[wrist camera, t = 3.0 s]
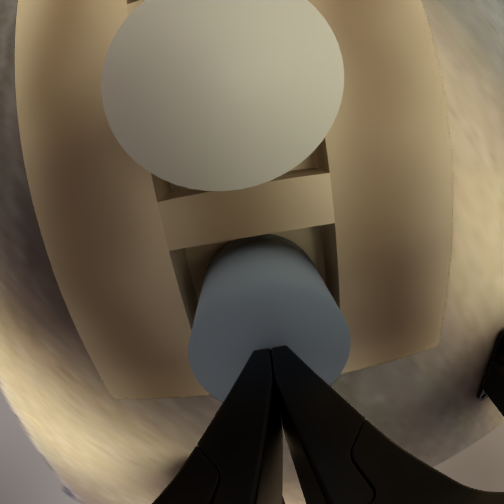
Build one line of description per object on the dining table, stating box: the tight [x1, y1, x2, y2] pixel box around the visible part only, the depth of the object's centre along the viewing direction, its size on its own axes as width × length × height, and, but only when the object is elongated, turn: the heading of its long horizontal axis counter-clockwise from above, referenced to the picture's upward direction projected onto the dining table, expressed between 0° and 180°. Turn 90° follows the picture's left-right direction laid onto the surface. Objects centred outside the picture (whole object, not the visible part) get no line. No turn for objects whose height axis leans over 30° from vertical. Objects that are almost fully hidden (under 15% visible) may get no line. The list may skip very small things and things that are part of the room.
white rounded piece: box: [101, 0, 344, 191], centre depth 6 cm, size 4×4×4 cm
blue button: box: [188, 234, 351, 402], centre depth 9 cm, size 4×4×4 cm
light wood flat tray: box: [15, 0, 453, 399], centre depth 9 cm, size 14×20×3 cm
